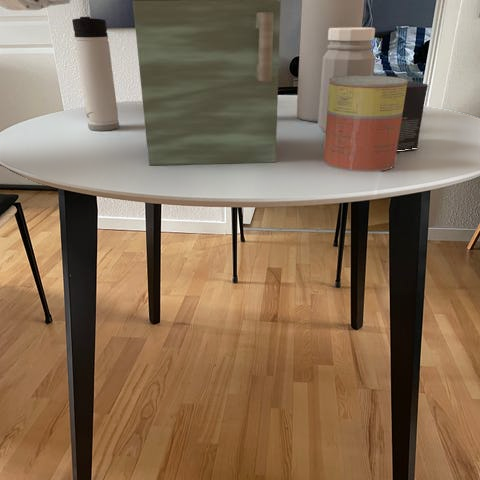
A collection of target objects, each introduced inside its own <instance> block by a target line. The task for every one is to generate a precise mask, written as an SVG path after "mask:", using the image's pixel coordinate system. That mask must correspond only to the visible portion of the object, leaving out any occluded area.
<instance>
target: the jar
mask: <svg viewBox="0 0 480 480" xmlns="http://www.w3.org/2000/svg"><path fill="white" fill-rule="evenodd" d="M375 33H376V28H375V27H363V26H362V27H347V28H329V31H328V40H330V45H328V46H327V48H328V49H329V50H328V51H327V52H326V54H325V55H324V57H323V62H322V76H321V90H320V104H319V118H318V122H317V125H318V127H319V129H320V130H321V132H322V133H325V134H326V122H327V110H328V98H329V85H330V82H329V79H330V78H333V77H340V76H375V75H374V74H375V67H376V60H377V59H376V56H375V54H374V52H373V51H372V49H373V48H374V45H373V44H372V41H374V40H375V36H376V35H375Z"/></svg>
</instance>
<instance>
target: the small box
mask: <svg viewBox="0 0 480 480" xmlns="http://www.w3.org/2000/svg"><path fill="white" fill-rule="evenodd" d="M428 87H429V84H428V83H422V82H416V81H411V80H408V83H407V88H406V94H405V101H404V107H403V113H402V120H401V126H400V133H399V139H398V146H397V150H405V149H412V148H417V149H418V146H419V137H420V132H421V126H422V120H423V114H424V108H425V102H426V96H427V93H428Z"/></svg>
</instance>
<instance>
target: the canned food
mask: <svg viewBox="0 0 480 480" xmlns="http://www.w3.org/2000/svg"><path fill="white" fill-rule="evenodd" d="M408 81H409V80H408V79H407V78H402V77H399V76H398V77H397V76H387V75H373V76H340V77H333V78H330V79H329V82H330V85H329V98H328V110H327V122H326V133H325V135H324V136H325V137H324V147H323V159H322V163H323V164H324V165H325V166H327V167H330V168H332V169H335V170H340V171H345V172H355V173H356V172H357V173H358V172H359V173H372V172H373V173H375V172H384V171H383V170H385V171H388V170H387V169H389V168H391V167H393V166H394V165H395V166H396V158H397V153H398V152H397V146H398V139H399V133H400V126H401V120H402V113H403V107H404V101H405V94H406V88H407V83H408ZM395 166H394V167H395ZM394 167H393V168H394ZM389 170H390V169H389Z"/></svg>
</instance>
